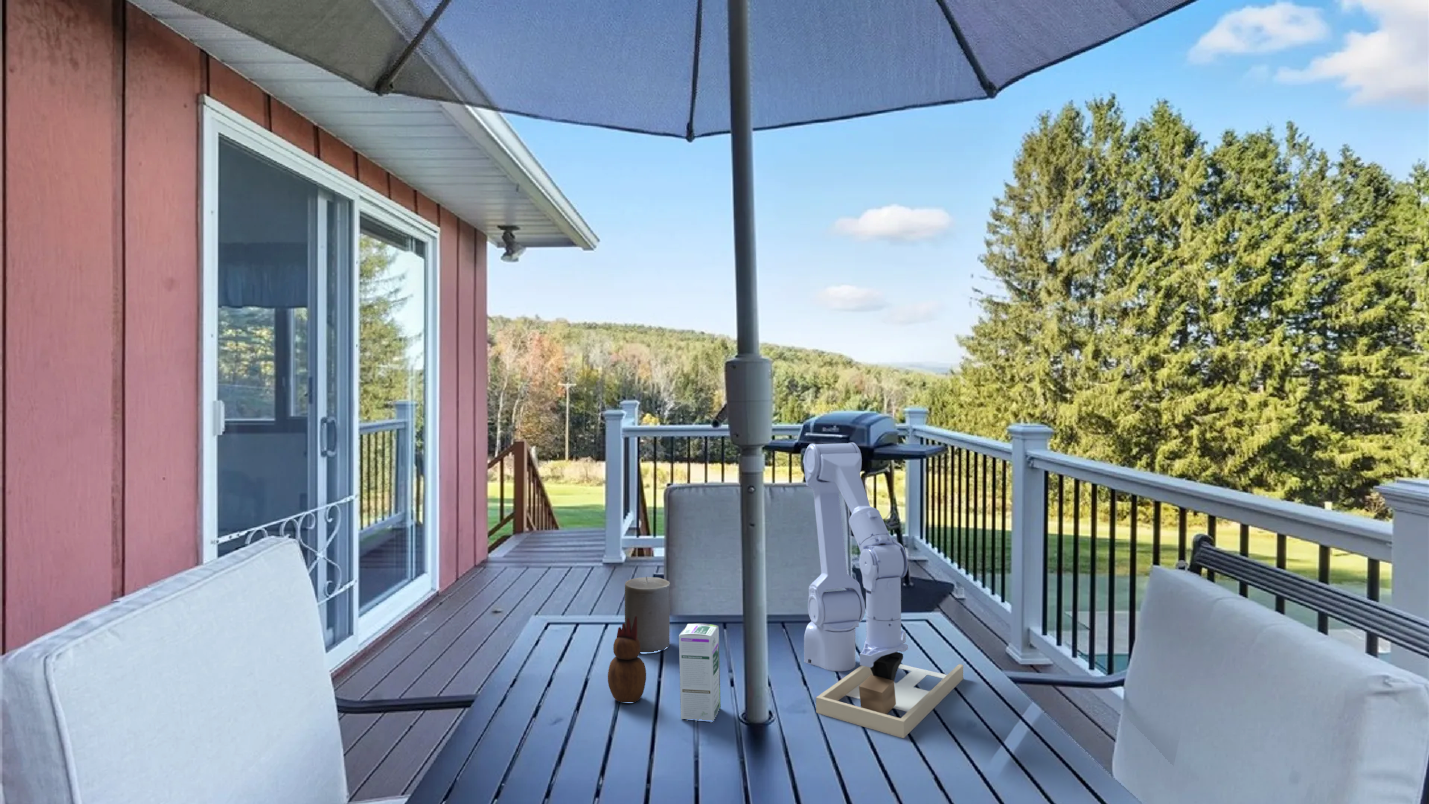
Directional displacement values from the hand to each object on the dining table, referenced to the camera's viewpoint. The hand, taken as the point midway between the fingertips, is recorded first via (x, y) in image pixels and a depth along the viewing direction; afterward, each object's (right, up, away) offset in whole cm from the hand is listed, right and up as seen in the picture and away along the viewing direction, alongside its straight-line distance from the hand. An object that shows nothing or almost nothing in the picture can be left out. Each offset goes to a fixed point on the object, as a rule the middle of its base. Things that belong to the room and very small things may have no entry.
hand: (884, 696), depth 122 cm
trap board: (+2, -3, +4) cm, 5 cm away
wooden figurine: (-44, -3, +6) cm, 45 cm away
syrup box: (-31, -3, 0) cm, 31 cm away
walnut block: (-1, -1, -2) cm, 3 cm away
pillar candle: (-43, -3, +32) cm, 54 cm away
